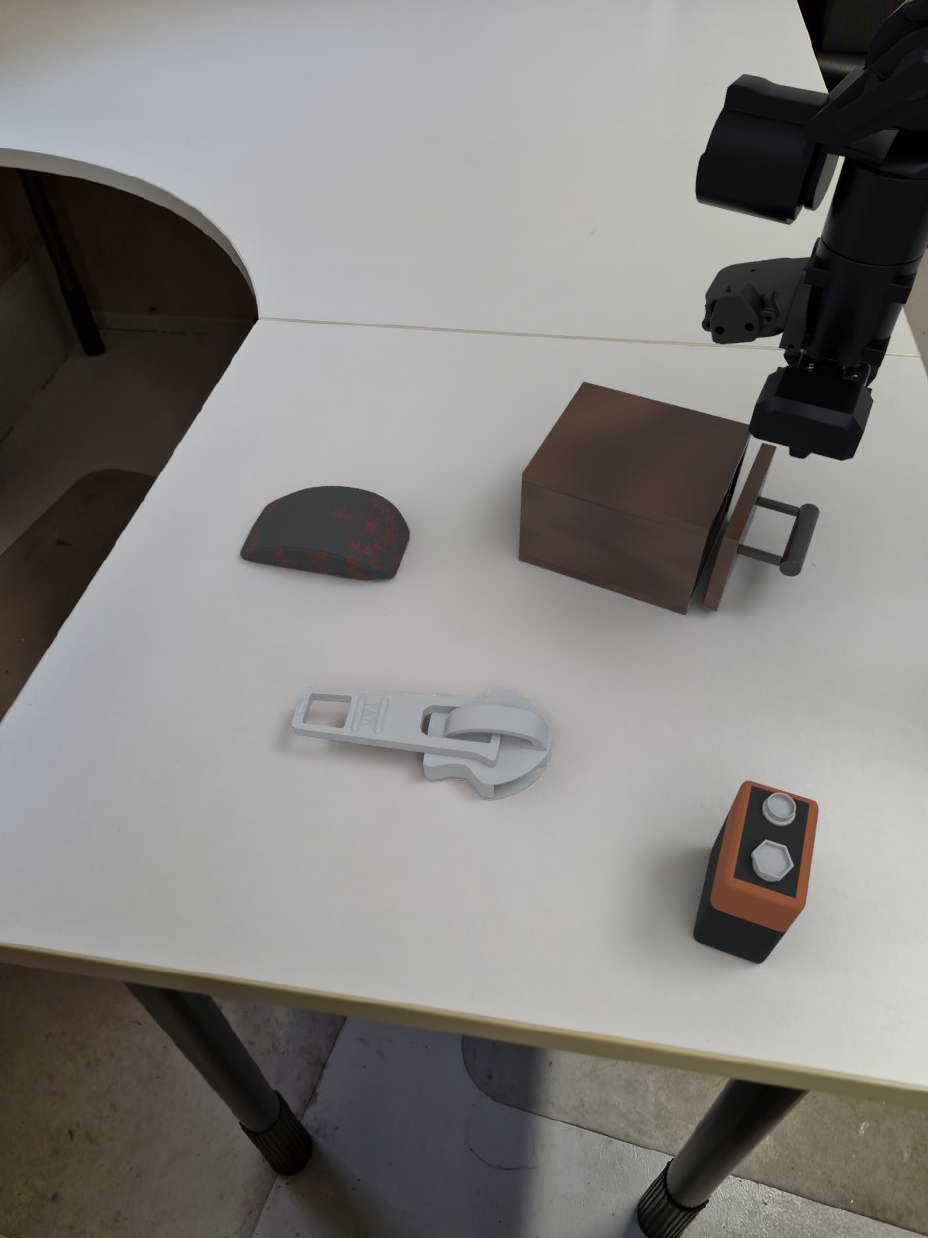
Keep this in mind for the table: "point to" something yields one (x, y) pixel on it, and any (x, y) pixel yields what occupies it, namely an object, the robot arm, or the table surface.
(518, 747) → the zipper pull
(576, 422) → the cabinet
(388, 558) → the dark grey half-round block
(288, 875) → the table surface
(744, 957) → the battery
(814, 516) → the drawer
